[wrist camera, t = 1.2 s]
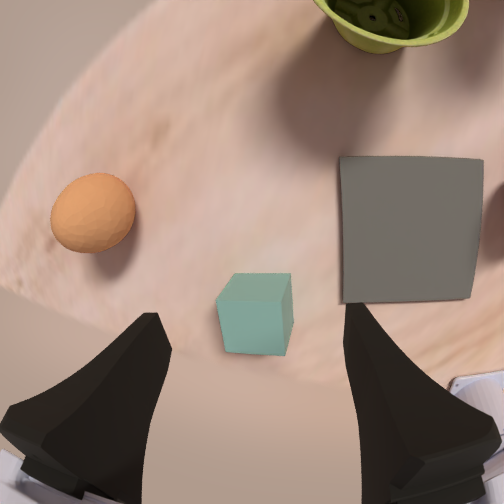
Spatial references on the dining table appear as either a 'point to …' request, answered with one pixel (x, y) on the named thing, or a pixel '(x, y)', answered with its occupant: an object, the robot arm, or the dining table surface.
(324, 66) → the dining table surface
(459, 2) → the plant pot
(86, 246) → the egg
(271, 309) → the cube
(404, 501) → the robot arm
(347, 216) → the mat
